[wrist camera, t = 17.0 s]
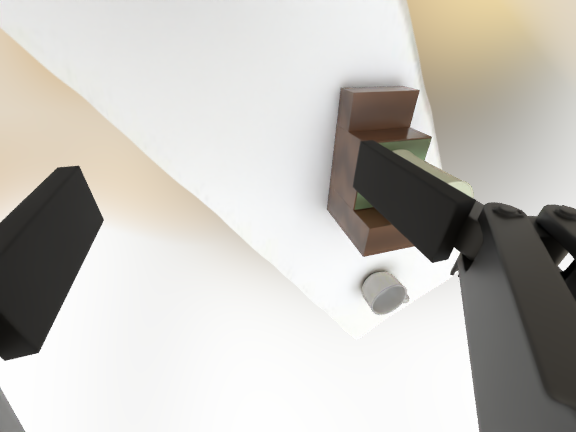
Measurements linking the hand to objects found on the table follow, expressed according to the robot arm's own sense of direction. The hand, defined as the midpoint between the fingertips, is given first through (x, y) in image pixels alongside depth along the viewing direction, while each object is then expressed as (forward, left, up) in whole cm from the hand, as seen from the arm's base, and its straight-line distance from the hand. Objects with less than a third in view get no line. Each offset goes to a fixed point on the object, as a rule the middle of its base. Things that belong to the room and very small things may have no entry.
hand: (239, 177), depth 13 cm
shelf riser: (+13, +27, -32) cm, 44 cm away
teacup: (+53, +40, -32) cm, 74 cm away
